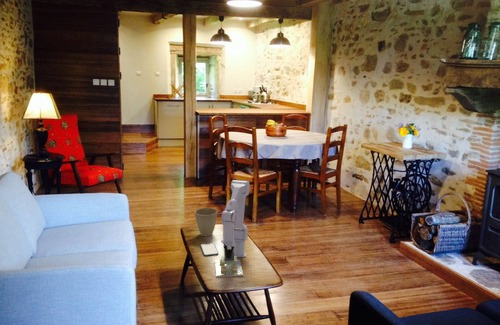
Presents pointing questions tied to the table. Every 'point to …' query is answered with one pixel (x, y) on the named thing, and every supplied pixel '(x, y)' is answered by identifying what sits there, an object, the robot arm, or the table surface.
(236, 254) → the robot arm
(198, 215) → the plant pot
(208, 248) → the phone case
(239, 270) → the plate
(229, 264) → the green and grey block
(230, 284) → the table surface
